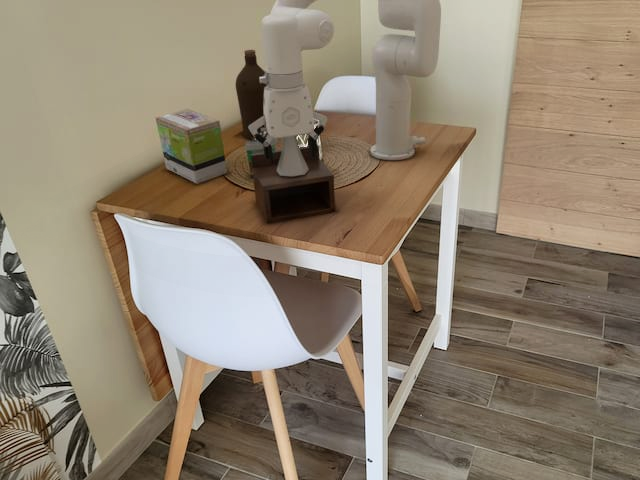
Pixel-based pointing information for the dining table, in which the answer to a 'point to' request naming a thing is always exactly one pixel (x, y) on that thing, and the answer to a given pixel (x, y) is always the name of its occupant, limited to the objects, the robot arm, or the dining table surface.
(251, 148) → the food container
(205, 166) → the tea box
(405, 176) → the dining table surface
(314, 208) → the spice shelf
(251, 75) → the olive oil
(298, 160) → the flask
